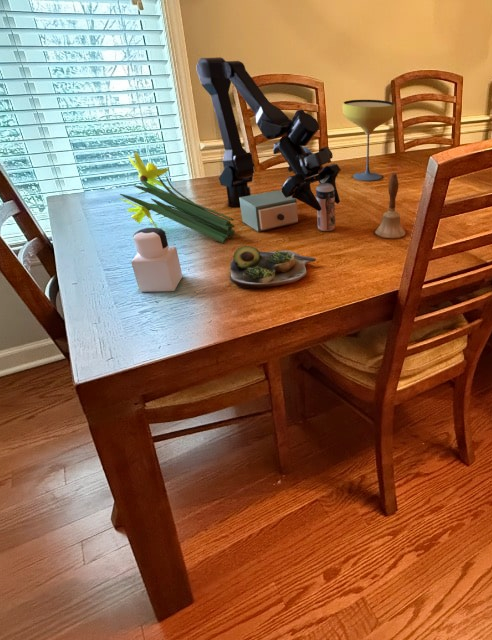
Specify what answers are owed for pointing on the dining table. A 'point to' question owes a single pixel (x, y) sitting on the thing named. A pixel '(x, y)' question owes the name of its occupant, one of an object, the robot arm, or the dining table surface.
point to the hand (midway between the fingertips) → (329, 206)
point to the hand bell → (391, 214)
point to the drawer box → (261, 206)
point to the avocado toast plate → (266, 267)
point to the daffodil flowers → (176, 205)
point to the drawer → (278, 215)
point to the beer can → (326, 207)
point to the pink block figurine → (155, 261)
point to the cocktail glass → (368, 123)
